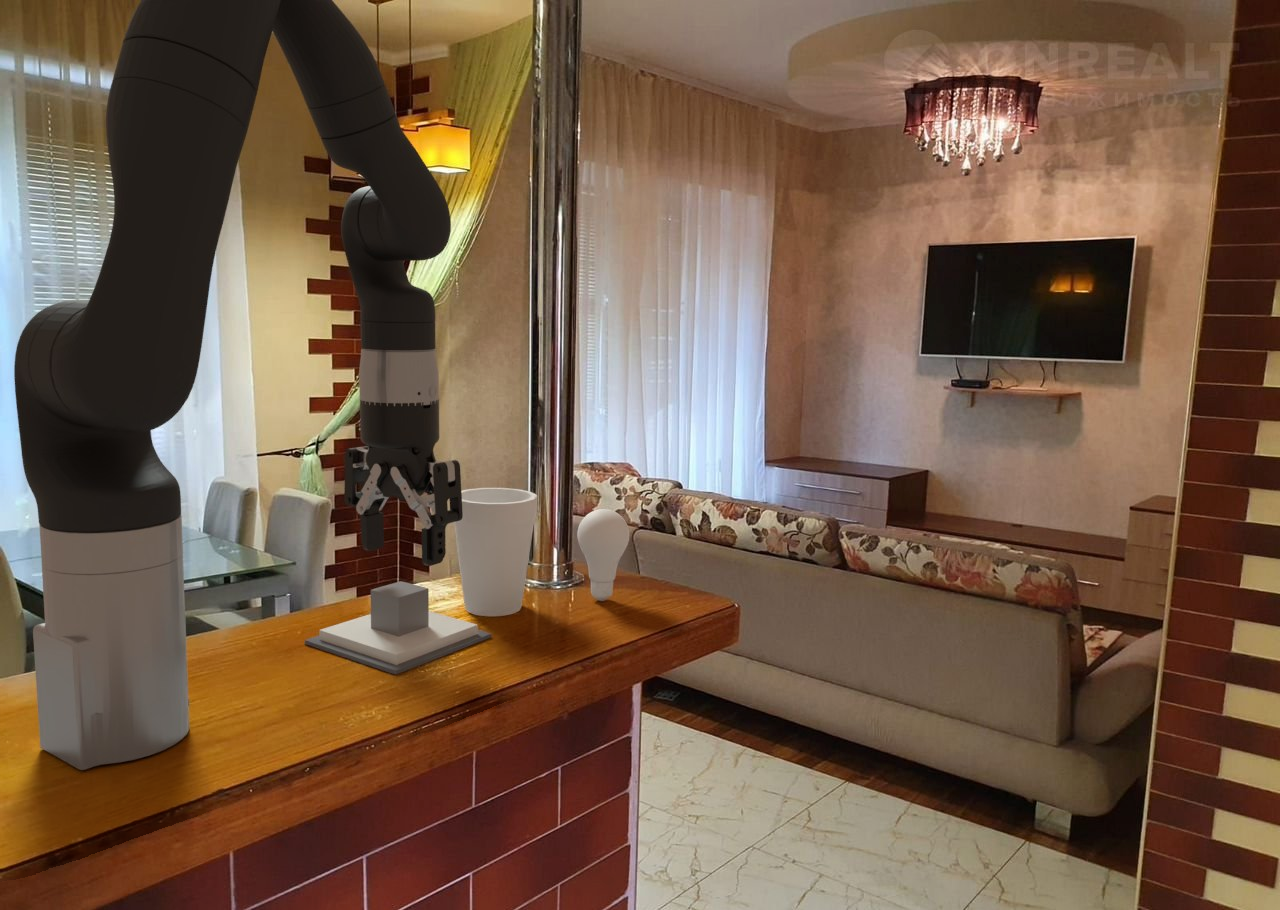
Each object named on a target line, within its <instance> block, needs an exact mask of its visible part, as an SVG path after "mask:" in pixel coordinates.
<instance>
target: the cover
mask: <svg viewBox="0 0 1280 910" xmlns="http://www.w3.org/2000/svg"><path fill="white" fill-rule="evenodd" d="M429 589H430V588H428V587H424V586H420V585H417V584H414V583H410V582H406V581H400V580H399V581H397V582H393V583H390V584H387V585H382V586H379V587H376V588H373V589H372V588H371V589H370V613H369V614H366V615H363V616H359V617H357V618H353V619H349V620H347V621H344V622H340V623H337V624H334V625H330V626H327V627H324V628H321V629H319V632H318V633H319V635H320V640H322V641H325V642H328V643H331V644H334V645H337V646H341V647H344V648H347V649H350V650H353V651H356V652H359V653H362V654H365V655H368V656H371V657H374V658H377V659H380V660H383V661H386V662H389V663H392V664H395V665H398V664H400V663H403V662H406V661H408V660H411V659H413V658H416V657H419V656H421V655H424V654H427V653H429V652H432V651H434V650H437V649H440V648H442V647H445V646H448V645H450V644H453V643H455V642H458V641H461V640H463V639H466V638H468V637H471V636H474V635H476V634H478V630H479V629H478V627H479V625H478V624H477V623H473V622H470V621H466V620H462V619H458V618H454V617H452V616H448V615H444V614H441V613H437V612H433V611H430V610H429V608H430V607H429V601H430V600H429V599H430V598H429V596H430V595H429V592H430V591H429Z"/></svg>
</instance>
